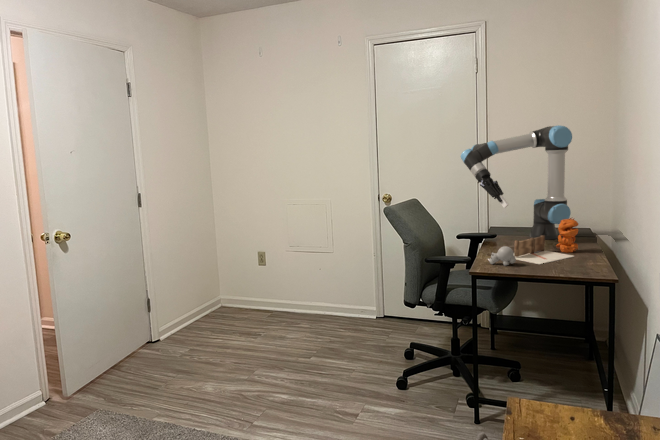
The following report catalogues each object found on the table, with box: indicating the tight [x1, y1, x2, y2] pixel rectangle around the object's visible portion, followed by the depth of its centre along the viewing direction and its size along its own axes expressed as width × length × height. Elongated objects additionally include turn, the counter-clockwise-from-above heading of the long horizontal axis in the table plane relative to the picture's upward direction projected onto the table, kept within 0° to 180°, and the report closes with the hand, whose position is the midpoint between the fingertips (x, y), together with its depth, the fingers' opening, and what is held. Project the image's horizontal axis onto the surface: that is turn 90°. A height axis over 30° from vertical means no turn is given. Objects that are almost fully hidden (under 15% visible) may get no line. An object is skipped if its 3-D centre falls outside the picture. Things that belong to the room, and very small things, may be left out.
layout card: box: [514, 250, 575, 265], centre depth 250 cm, size 22×26×1 cm
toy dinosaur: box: [555, 217, 579, 254], centre depth 258 cm, size 11×11×18 cm
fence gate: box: [513, 238, 532, 257], centre depth 250 cm, size 13×2×8 cm, turn 126°
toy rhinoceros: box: [487, 245, 517, 267], centre depth 235 cm, size 7×12×8 cm, turn 66°
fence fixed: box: [529, 235, 546, 254], centre depth 257 cm, size 11×2×8 cm, turn 126°
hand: (506, 206), depth 262 cm, fingers closed
